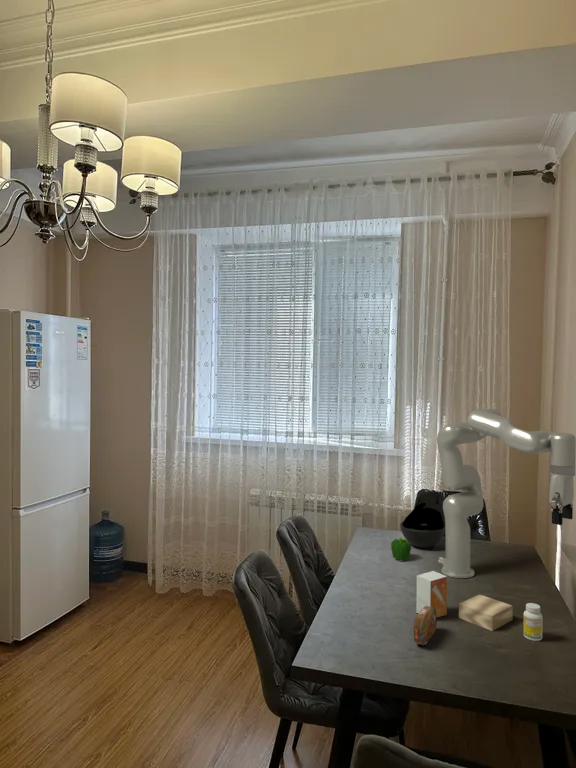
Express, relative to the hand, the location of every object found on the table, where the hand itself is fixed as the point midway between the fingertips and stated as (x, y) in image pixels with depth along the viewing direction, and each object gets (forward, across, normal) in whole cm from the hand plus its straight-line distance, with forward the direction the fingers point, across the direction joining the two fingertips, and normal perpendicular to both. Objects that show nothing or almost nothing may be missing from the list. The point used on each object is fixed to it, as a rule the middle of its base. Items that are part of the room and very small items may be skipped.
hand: (562, 521), depth 186 cm
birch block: (+31, +23, -16) cm, 42 cm away
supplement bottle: (+31, +25, 0) cm, 40 cm away
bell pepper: (+31, -7, -67) cm, 74 cm away
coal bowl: (+31, -28, -70) cm, 81 cm away
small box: (+31, +32, -30) cm, 54 cm away
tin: (+31, +48, -23) cm, 62 cm away
